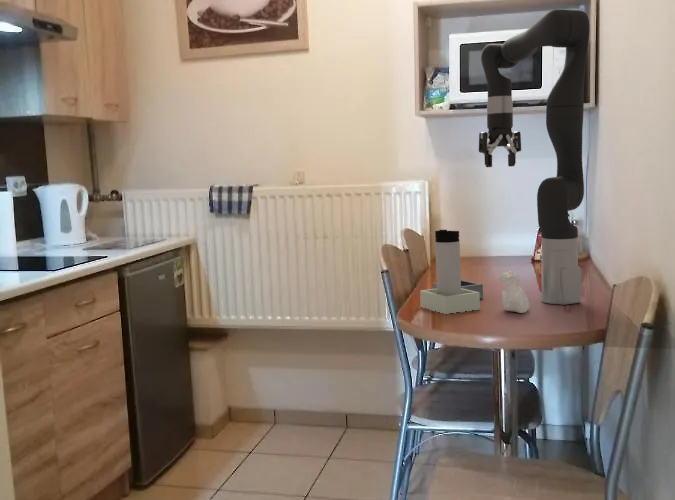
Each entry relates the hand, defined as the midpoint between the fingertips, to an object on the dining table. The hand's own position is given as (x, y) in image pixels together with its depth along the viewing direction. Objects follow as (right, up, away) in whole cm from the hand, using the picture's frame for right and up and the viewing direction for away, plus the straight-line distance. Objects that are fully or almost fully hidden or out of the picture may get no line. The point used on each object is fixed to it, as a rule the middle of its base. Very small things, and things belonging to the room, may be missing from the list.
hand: (500, 166), depth 213 cm
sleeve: (-15, -39, -14) cm, 44 cm away
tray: (-20, -41, -28) cm, 53 cm away
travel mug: (-20, -40, -28) cm, 53 cm away
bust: (-4, -41, -34) cm, 53 cm away
